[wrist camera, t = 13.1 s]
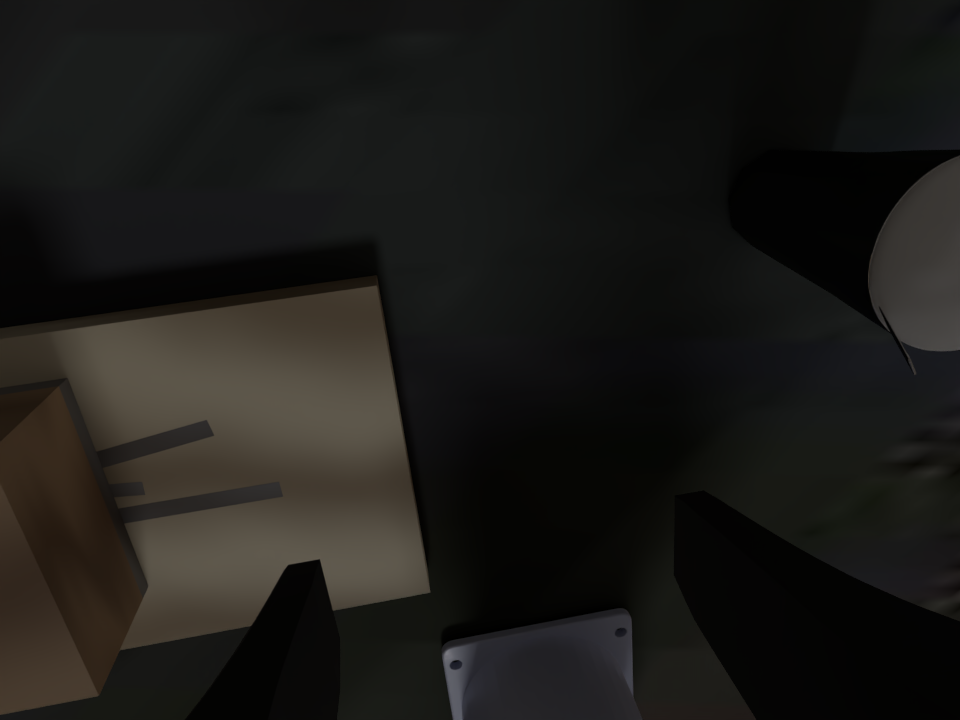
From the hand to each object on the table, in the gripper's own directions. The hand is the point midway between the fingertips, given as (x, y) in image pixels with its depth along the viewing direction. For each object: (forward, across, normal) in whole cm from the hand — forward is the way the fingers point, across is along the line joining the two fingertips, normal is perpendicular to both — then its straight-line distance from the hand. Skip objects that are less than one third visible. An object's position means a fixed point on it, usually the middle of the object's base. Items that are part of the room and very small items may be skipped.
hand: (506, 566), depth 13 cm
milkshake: (+11, -11, -4) cm, 16 cm away
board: (+10, +10, +2) cm, 15 cm away
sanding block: (+9, +14, +2) cm, 16 cm away
